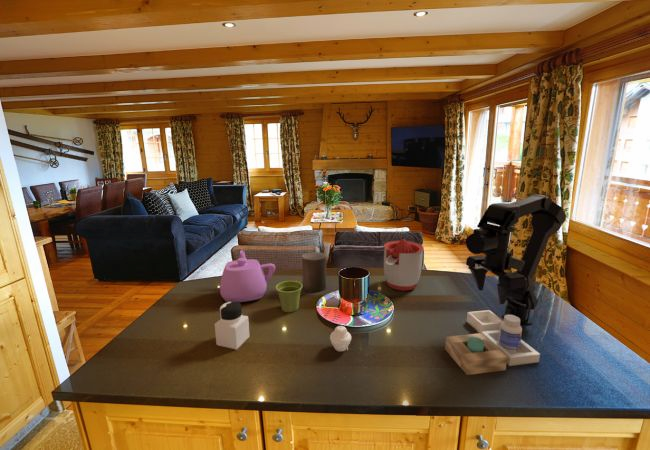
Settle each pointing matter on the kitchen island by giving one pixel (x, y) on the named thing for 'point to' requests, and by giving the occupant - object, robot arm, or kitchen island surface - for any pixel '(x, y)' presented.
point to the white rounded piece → (340, 338)
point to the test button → (475, 344)
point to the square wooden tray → (475, 355)
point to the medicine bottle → (232, 326)
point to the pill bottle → (510, 334)
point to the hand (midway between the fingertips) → (490, 296)
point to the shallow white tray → (522, 357)
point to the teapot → (244, 279)
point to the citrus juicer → (402, 264)
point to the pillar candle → (314, 271)
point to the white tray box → (484, 321)
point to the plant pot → (289, 295)
